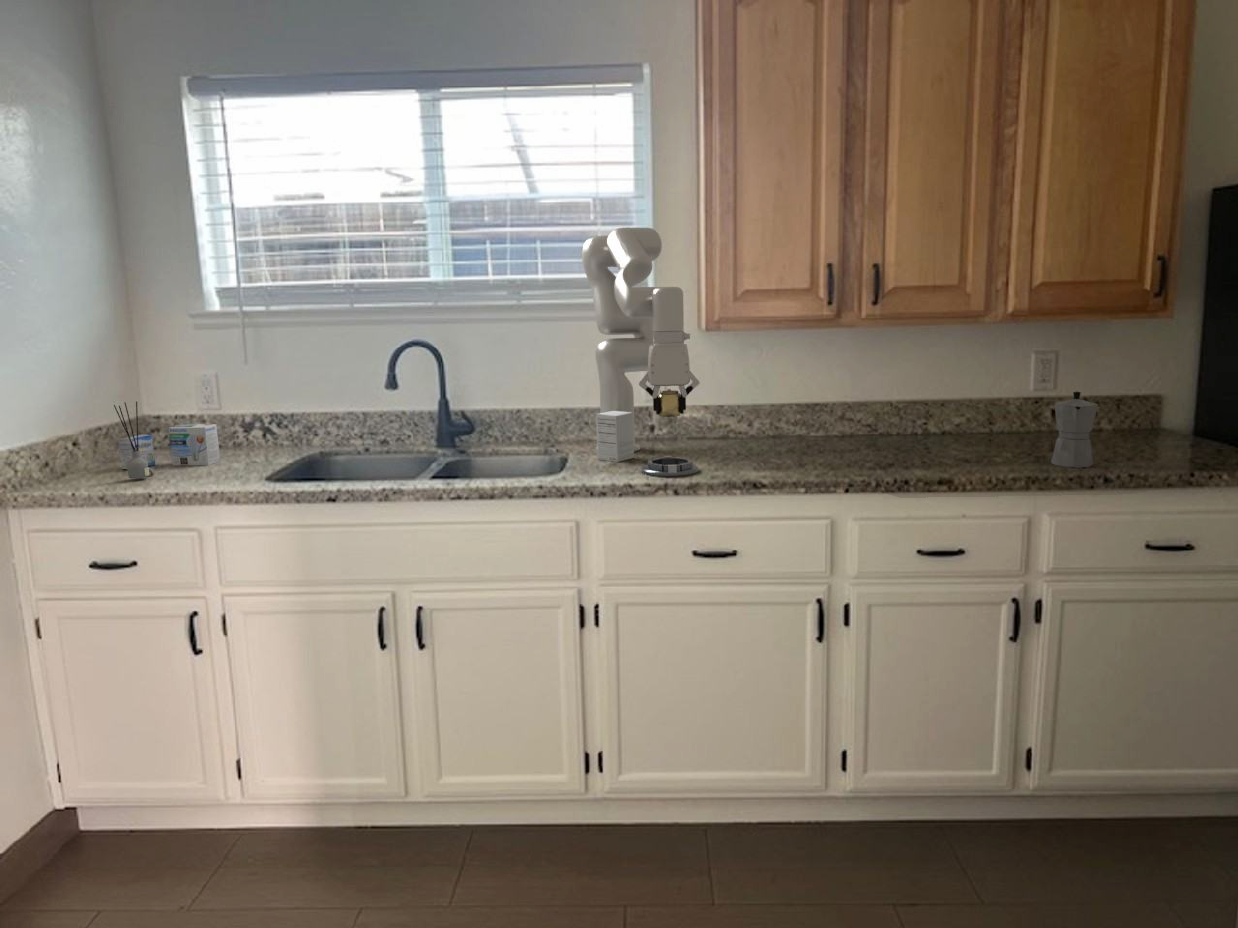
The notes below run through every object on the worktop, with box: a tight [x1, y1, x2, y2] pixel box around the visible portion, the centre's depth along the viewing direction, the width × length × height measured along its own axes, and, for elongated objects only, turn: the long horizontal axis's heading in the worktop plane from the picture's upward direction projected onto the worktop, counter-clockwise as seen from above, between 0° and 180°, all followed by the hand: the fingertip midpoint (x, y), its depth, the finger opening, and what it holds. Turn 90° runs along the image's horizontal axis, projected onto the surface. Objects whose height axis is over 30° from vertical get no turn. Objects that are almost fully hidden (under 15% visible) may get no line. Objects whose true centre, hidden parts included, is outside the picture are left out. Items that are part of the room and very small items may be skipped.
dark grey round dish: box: [641, 455, 699, 478], centre depth 219 cm, size 14×14×3 cm
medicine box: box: [117, 434, 156, 469], centre depth 242 cm, size 8×4×9 cm, turn 170°
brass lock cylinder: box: [658, 388, 681, 418], centre depth 216 cm, size 5×5×6 cm
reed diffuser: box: [113, 401, 156, 479], centre depth 224 cm, size 10×7×20 cm
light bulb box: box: [168, 423, 221, 467], centre depth 246 cm, size 11×7×11 cm, turn 87°
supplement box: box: [595, 411, 635, 463], centre depth 237 cm, size 7×7×13 cm
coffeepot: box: [1050, 391, 1099, 469], centre depth 216 cm, size 15×9×18 cm, turn 157°
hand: (669, 412), depth 216 cm, fingers closed on brass lock cylinder, 5 cm apart
